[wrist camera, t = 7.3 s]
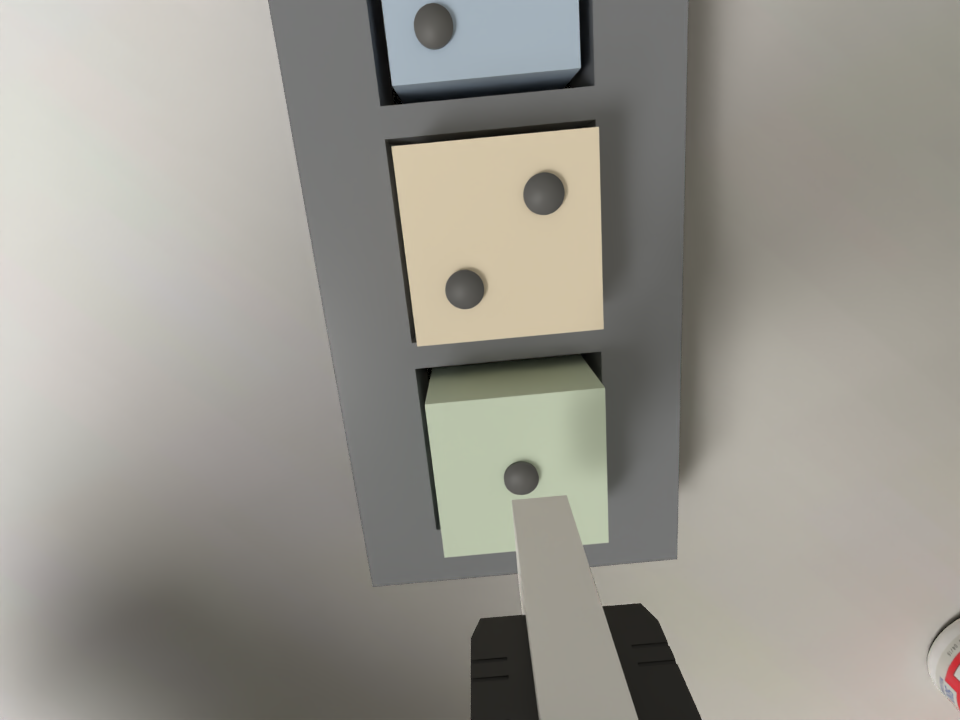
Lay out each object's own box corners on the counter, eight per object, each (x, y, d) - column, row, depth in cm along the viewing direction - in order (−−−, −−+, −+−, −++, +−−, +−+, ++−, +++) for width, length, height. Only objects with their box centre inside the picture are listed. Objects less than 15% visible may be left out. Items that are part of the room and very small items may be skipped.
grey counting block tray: (386, 530, 26) (372, 586, 22) (273, -165, 18) (221, -262, 14) (646, 507, 26) (676, 558, 22) (646, -201, 18) (694, -309, 14)
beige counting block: (426, 320, 21) (416, 348, 17) (406, 157, 19) (390, 145, 15) (578, 305, 21) (605, 330, 17) (572, 142, 19) (600, 125, 15)
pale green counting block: (448, 498, 23) (444, 561, 19) (432, 368, 21) (424, 406, 17) (585, 485, 23) (610, 546, 19) (580, 354, 21) (606, 389, 17)
